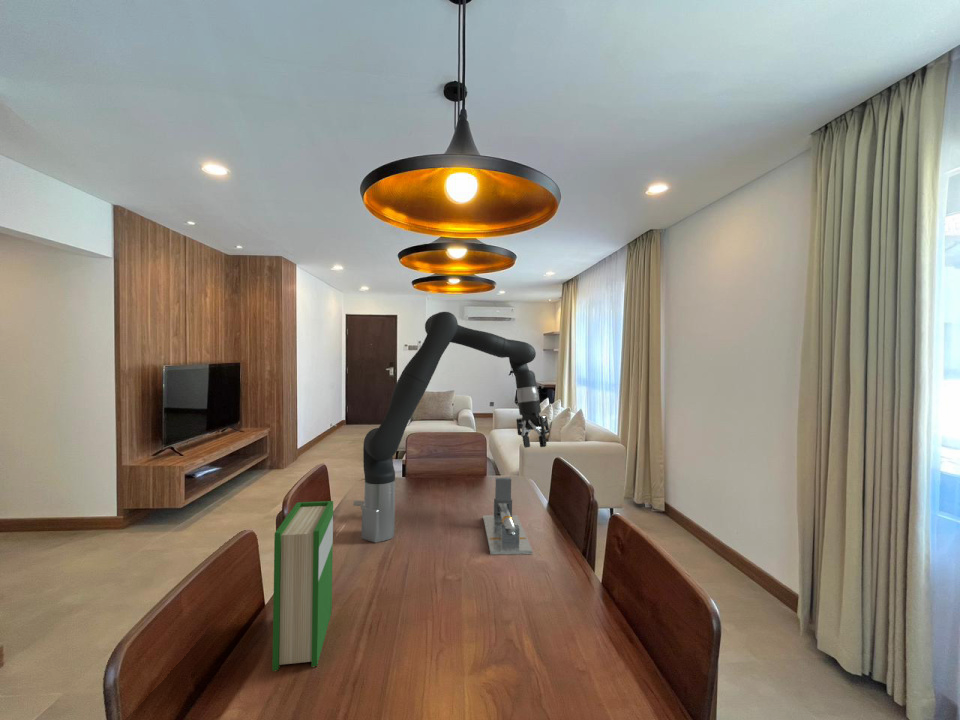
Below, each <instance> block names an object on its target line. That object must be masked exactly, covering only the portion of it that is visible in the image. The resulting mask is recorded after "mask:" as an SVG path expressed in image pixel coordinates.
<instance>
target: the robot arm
mask: <svg viewBox="0 0 960 720" xmlns="http://www.w3.org/2000/svg"><path fill="white" fill-rule="evenodd" d="M424 331H425V332H426V333H425V334H426V336H425V339H424V341H423V342H422V344H421V346H420V348H419V349H418V350H417V351H416V353H415V354H414V355H413V356H412V358H411V359H409V362H407V364H406V365H405V366H404V369H403V370H402V372H401V374H400V376H399V378H398V380H397V382H396V383H395V386H394V388H393V391H392V394H391V398H390V403H389V407H388V409H387V413H386V414H385V416H384V419H383V420H382V422H381V423H380V425H379V427H376V428H375V427H374V428H372V429H370V431H368V432H367V433H366V435H365V436H364V439H363V448H362V449H363V450H362V451H363V456H362V457H363V461H362V462H363V474H364V500H363V501H364V507H363V508H362V510H361V539H363V540H366V541H369V542H372V543H374V544H375V543H378V542H385V541H389V540H390V539H392V538H394V536H395V514H396V513H395V506H396V505H395V503H396V500H395V499H396V497H395V496H396V494H395V493H396V471H395V468H394V460H393V459H394V455H395V454H396V453H397V452H398V449H399V446H400V443H401V441H402V439H403V436H404V434H405V431H406V429H407V426H408V423H409V422H410V420H411V418H412V417H413V415H414V413H415V411H416V408H417V407H418V405H419V403H420V402H421V400H422V398H423V396H424V394H425V392H426V390H427V388H428V387H429V384H430V382H431V380H432V378H433V376H434V374H435V371H437V370H436V369H437V367H438V365H439V363H440V360H441V358H442V356H443V354H444V353H445V352H446V349H447V348H448V346H449V345H450V343H452V344H457V345H460V346H465V347H467V348H471V349H474V350H476V351H480V352H483V353H485V354H488V355H490V356H493V357H497V358H501V359H504V358H508V361H509V364H510V367H511V370H512V372H513V375H514V378H515V384H516V385H515V386H516V398H517V405H518V411H519V415H520V416H522V417H521V418H516V427H517V429H516V431H517V435H518V436H520V437H522V443H523V447H524V448H530V447H531V442H530V436H529V435H530V433H531V432H532V430H534V431H535V432H536V433H537V435H538V440H539V446H540V448H545V447H547V437H546V436H547V434H549V433H550V426H549V422H548V416H547V415H540V413H541V412H542V410H541V404H540V395H539V390H538V387H537V380H536V374H535V372H534V371H533V370H530V369H529V366H528V364H529V363H531V362H532V361H534V360H535V359H536V356H537V355H536V354H537V351H536V349H535V348H534V347H533V345H531V344H530V343H529V342H525V341H521V340H515V339H508V338H506V337H502V336H500V335H497V334H494V333H491V332H487V331H482V330H477V329H472V328H469V327H465V326H462V325H460V324H459V323H458V320H457V317H456V316H455V315H454V313H452V312H450V311H439V312H436V313H434V314H432V315H431V316H429V318H427V319H426V322H425V323H424Z"/></svg>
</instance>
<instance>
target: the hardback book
mask: <svg viewBox="0 0 960 720" xmlns="http://www.w3.org/2000/svg"><path fill="white" fill-rule="evenodd" d="M333 538H334V500H327V501H326V500H324V501H323V500H320V501H301V502H296V504H295V505H294V506H293V508H292V509H291V510H290V511H289V513H288V514H287V515H286V517H285V518H284V520H283V521H282V522H281V523H280V525H279V527H277V529H276V531H275V532H274V551H273V552H274V553H273V554H274V555H273V557H274V558H273V601H272V602H273V603H272V604H273V610H272V613H273V614H272V616H273V617H272V664H271V666H272V669H271V670H272V671H275V670H278V669H279V670H280V667H281V666H283V665H290V664H300V663H310V662H311V667H313V666H317V667H318V665H319V662H318V660H319V661H320V658H319V657H321V654H322V649H323V647H322V646H324V643H325V639H326V636H325V635H327V632H326V631H328V628H327V627H329V625H328V623H329V624H330V621H329V620H331V617H330V616H332V613H331V612H333V609H332V605H333V558H334V557H333V552H334V551H333V549H334V548H333V547H334V546H333V545H334V539H333ZM323 642H324V643H323ZM320 653H321V654H320ZM317 664H318V665H317ZM279 666H280V667H279ZM279 670H278V671H279ZM275 672H276V671H275Z"/></svg>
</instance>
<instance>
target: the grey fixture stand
mask: <svg viewBox="0 0 960 720" xmlns="http://www.w3.org/2000/svg"><path fill="white" fill-rule="evenodd" d="M498 513H500V515H501V518H494V514H493V515H492V514H491V515H487V514H486V515H482V518H483V524H484V525H483V526H484V528H485V534H486V539H487V540H486V541H487V544H488V549H489V555H492V556H493V555H496V556H497V555H533V549H532V546H531V543H530V541H529V539H528V537H527V534H526V532H525V529H524V528H523V524H522V523H521V520H520V517H519V516H518V514H512V517H511V515H510V512H509V510H508V503H501V504H498Z"/></svg>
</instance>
